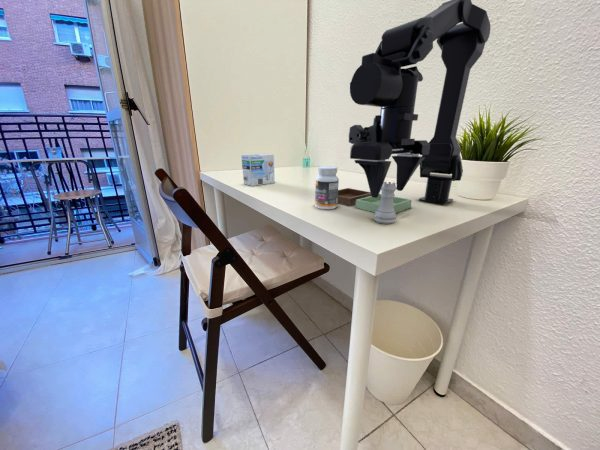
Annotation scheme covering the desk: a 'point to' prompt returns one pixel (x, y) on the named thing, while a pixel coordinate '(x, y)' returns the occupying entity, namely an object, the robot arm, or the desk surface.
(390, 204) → the rook chess piece
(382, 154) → the robot arm
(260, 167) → the light bulb box
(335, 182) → the pill bottle
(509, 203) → the desk surface
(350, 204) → the walnut tray
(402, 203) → the sage tray
